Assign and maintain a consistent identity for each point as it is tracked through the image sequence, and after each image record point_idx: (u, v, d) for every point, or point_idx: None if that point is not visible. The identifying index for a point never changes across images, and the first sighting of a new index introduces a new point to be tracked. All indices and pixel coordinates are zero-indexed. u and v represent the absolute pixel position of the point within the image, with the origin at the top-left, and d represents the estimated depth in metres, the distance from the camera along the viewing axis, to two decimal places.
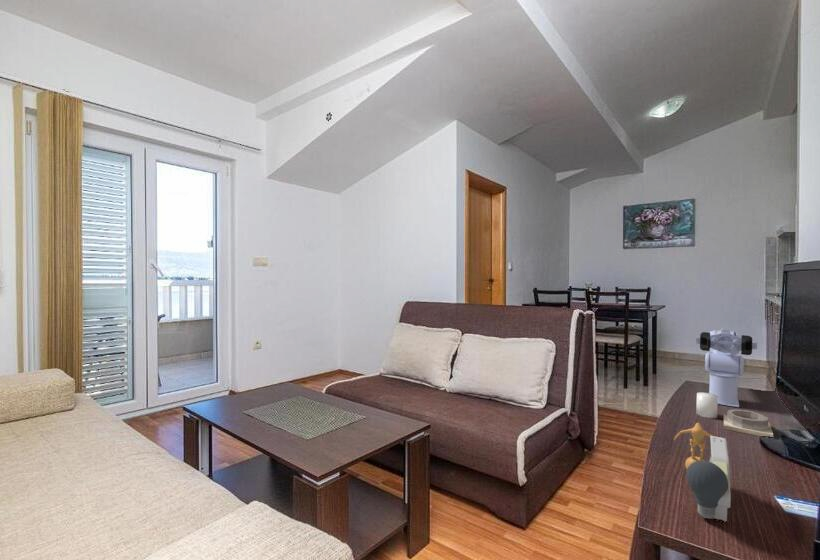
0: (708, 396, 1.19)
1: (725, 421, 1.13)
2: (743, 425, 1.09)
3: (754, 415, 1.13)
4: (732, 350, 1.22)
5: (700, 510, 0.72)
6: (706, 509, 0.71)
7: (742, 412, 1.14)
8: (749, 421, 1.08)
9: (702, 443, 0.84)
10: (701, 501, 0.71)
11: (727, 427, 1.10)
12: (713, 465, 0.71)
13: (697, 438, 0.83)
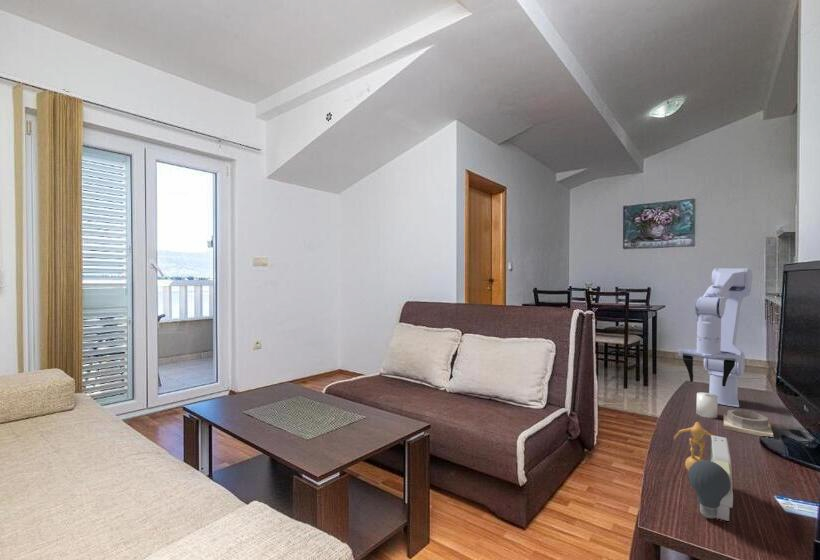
0: (708, 396, 1.19)
1: (725, 421, 1.13)
2: (743, 425, 1.09)
3: (754, 415, 1.13)
4: None
5: (702, 510, 0.72)
6: (708, 509, 0.71)
7: (742, 412, 1.14)
8: (749, 421, 1.08)
9: (702, 442, 0.84)
10: (703, 501, 0.71)
11: (727, 427, 1.10)
12: (715, 465, 0.71)
13: (697, 437, 0.83)
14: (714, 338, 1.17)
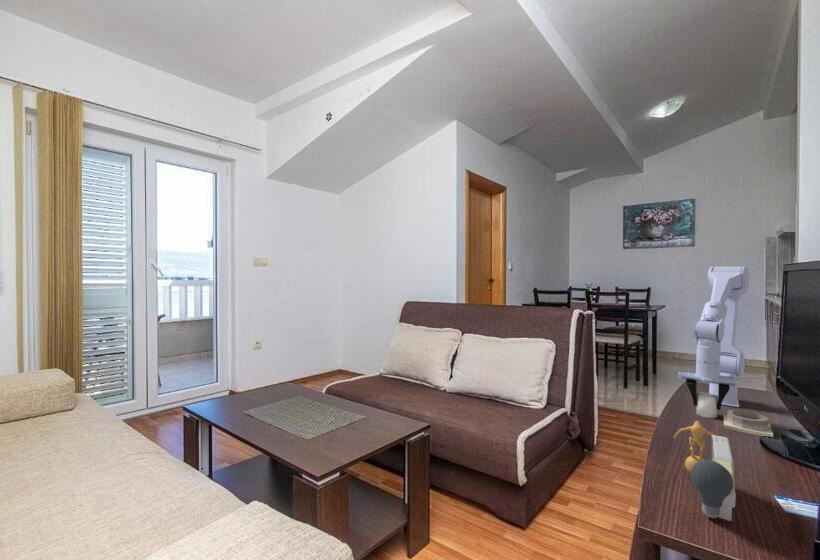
0: (708, 396, 1.19)
1: (725, 421, 1.13)
2: (743, 425, 1.09)
3: (754, 415, 1.13)
4: None
5: (705, 510, 0.72)
6: (711, 509, 0.71)
7: (742, 412, 1.14)
8: (749, 421, 1.08)
9: (701, 441, 0.84)
10: (706, 501, 0.71)
11: (727, 427, 1.10)
12: (718, 465, 0.71)
13: (697, 436, 0.84)
14: (713, 362, 1.17)
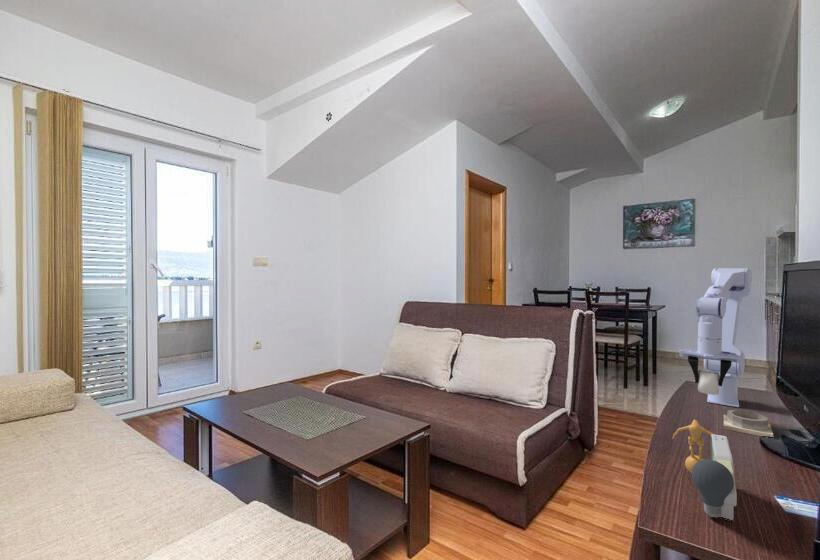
0: (710, 373, 1.19)
1: (725, 421, 1.13)
2: (743, 425, 1.09)
3: (754, 415, 1.13)
4: None
5: (707, 509, 0.72)
6: (713, 508, 0.71)
7: (742, 412, 1.14)
8: (749, 421, 1.08)
9: (700, 440, 0.84)
10: (708, 500, 0.71)
11: (727, 427, 1.10)
12: (718, 464, 0.71)
13: (695, 435, 0.84)
14: (715, 339, 1.17)
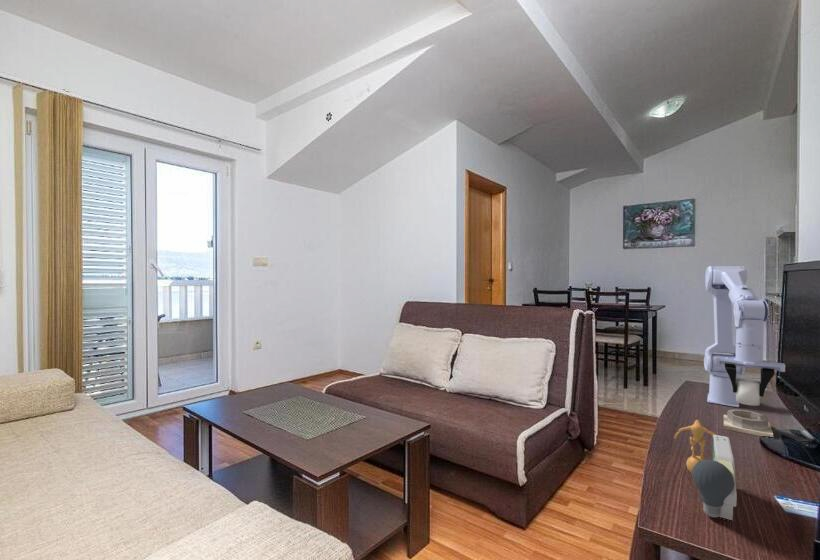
0: (750, 382, 1.10)
1: (725, 421, 1.13)
2: (743, 425, 1.09)
3: (754, 415, 1.13)
4: None
5: (706, 509, 0.72)
6: (712, 508, 0.71)
7: (742, 412, 1.14)
8: (749, 421, 1.08)
9: (702, 440, 0.84)
10: (707, 500, 0.71)
11: (727, 427, 1.10)
12: (719, 464, 0.71)
13: (697, 435, 0.84)
14: (761, 345, 1.08)
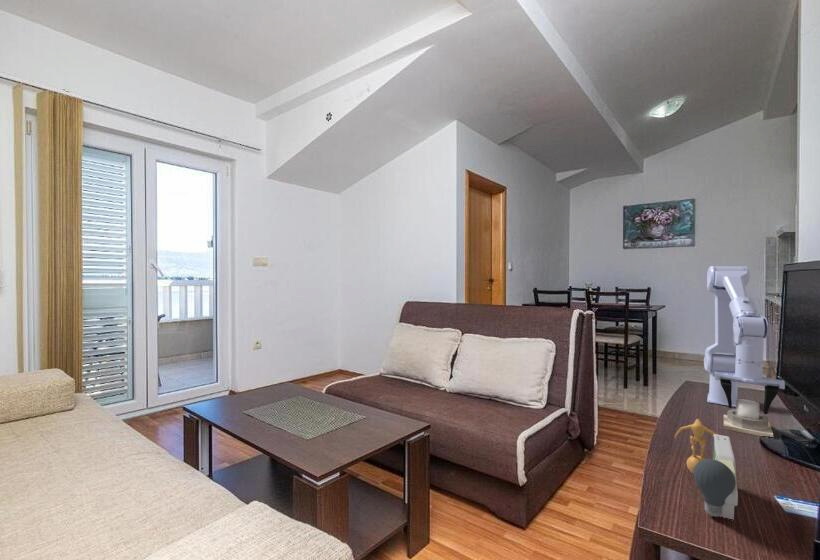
0: (749, 403, 1.10)
1: (725, 421, 1.13)
2: (743, 425, 1.09)
3: None
4: None
5: (707, 508, 0.72)
6: (713, 507, 0.71)
7: None
8: (749, 421, 1.08)
9: (702, 439, 0.85)
10: (709, 499, 0.71)
11: (727, 427, 1.10)
12: (720, 463, 0.71)
13: (698, 434, 0.84)
14: (760, 362, 1.08)
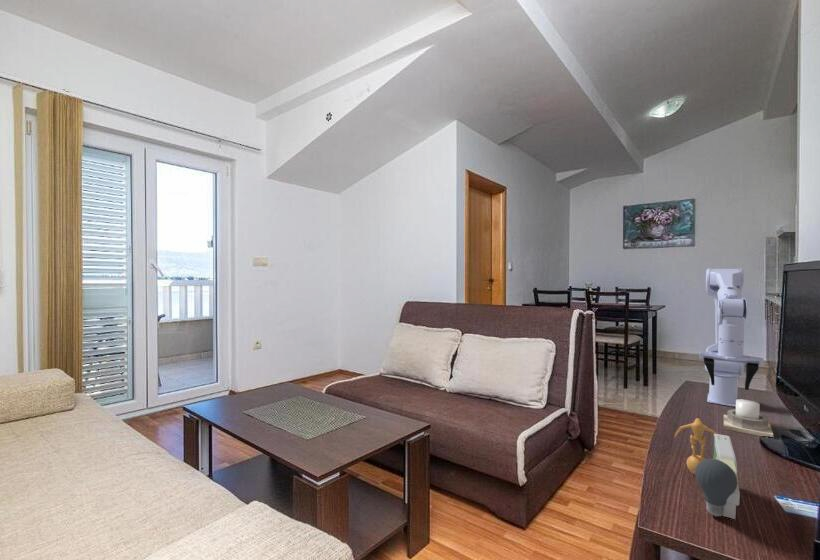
0: (749, 403, 1.10)
1: (725, 421, 1.13)
2: (743, 425, 1.09)
3: None
4: None
5: (709, 508, 0.72)
6: (715, 507, 0.71)
7: None
8: (749, 421, 1.08)
9: (702, 439, 0.85)
10: (710, 499, 0.71)
11: (727, 427, 1.10)
12: (722, 463, 0.71)
13: (698, 432, 0.84)
14: (740, 341, 1.14)
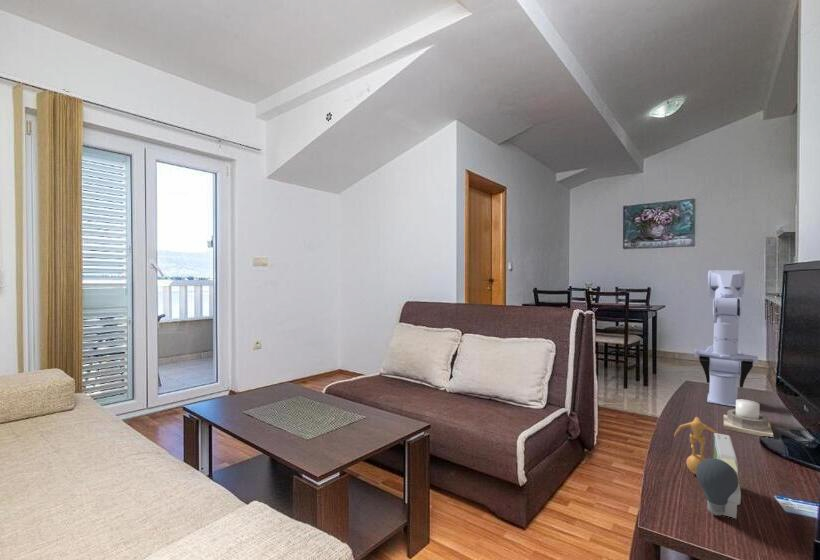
0: (749, 404, 1.10)
1: (725, 421, 1.13)
2: (743, 425, 1.09)
3: None
4: None
5: (710, 507, 0.72)
6: (716, 506, 0.72)
7: None
8: (749, 421, 1.08)
9: (702, 437, 0.85)
10: (712, 498, 0.72)
11: (727, 427, 1.10)
12: (723, 462, 0.72)
13: (697, 431, 0.85)
14: (734, 339, 1.16)
